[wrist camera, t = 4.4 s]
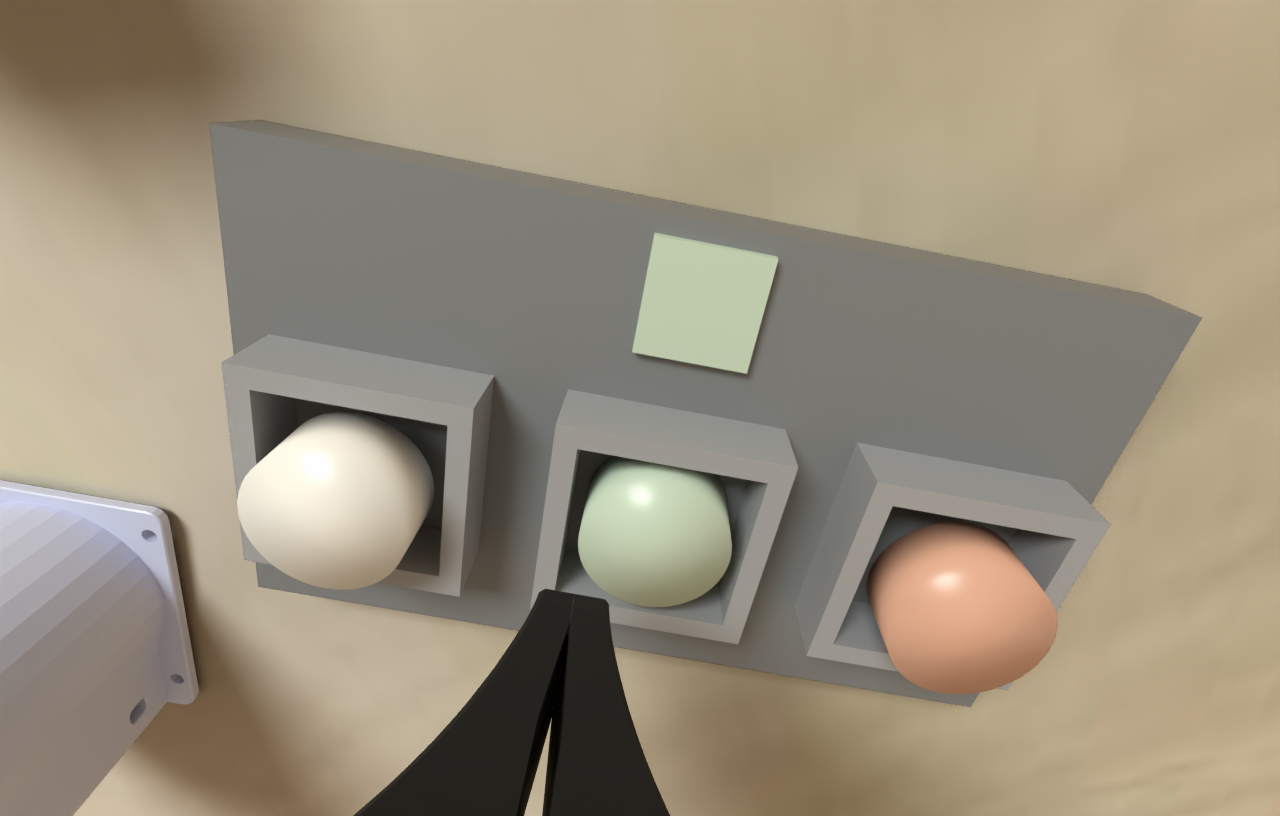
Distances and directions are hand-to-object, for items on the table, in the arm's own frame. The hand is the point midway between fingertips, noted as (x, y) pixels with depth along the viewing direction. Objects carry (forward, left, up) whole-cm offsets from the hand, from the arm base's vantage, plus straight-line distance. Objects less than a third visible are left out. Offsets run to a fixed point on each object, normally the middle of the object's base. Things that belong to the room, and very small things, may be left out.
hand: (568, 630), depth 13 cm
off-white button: (-1, +6, -5) cm, 8 cm away
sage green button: (-1, -2, -6) cm, 6 cm away
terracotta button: (0, -10, -4) cm, 11 cm away
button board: (0, -2, -8) cm, 8 cm away
